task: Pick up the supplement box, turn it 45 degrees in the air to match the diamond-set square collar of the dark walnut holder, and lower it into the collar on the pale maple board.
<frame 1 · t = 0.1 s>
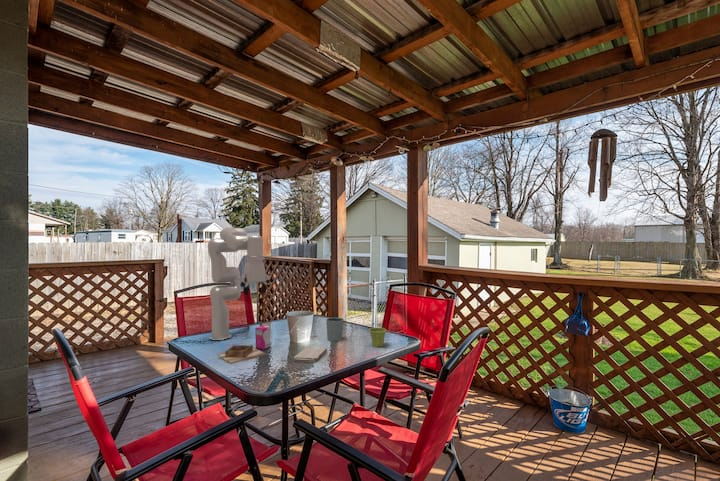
hand: (255, 293, 171), 31 cm above the table, tool pointing down, fingers open, 9 cm apart
supplement box: (263, 348, 183), on the table
washcloth: (310, 358, 168), on the table
grey green embossed cup: (335, 339, 199), on the table
plant pot: (377, 345, 186), on the table
collar holder: (239, 356, 170), on the table
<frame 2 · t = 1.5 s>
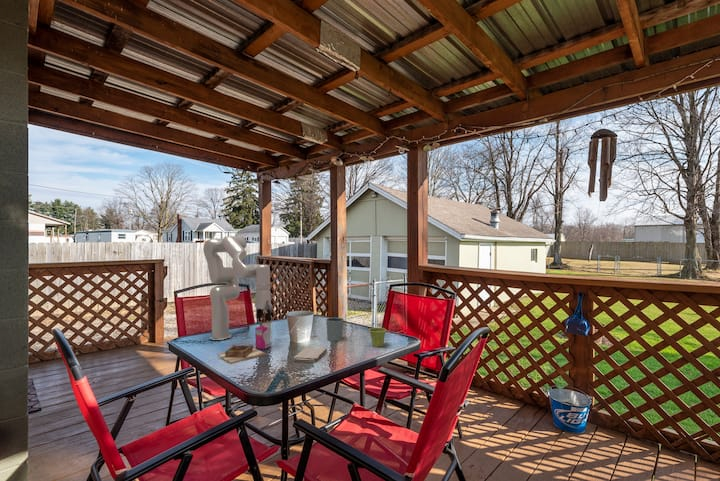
hand: (263, 319, 183), 16 cm above the table, tool pointing down, fingers open, 9 cm apart
nothing on the table moved.
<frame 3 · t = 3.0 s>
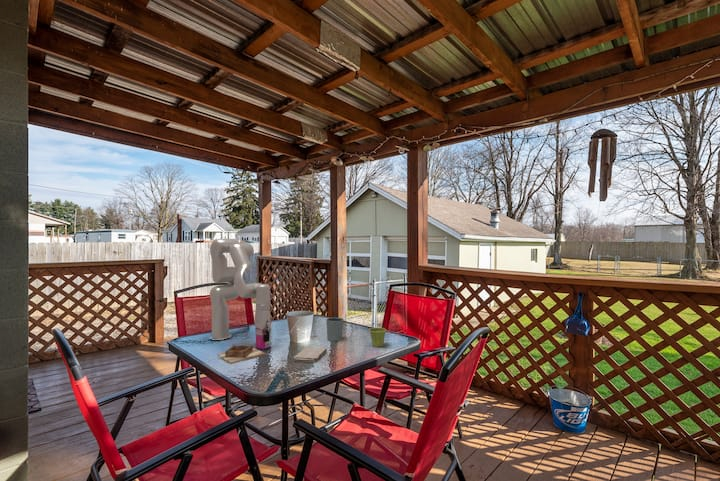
hand: (263, 339, 183), 4 cm above the table, tool pointing down, fingers closed on supplement box, 6 cm apart
supplement box: (263, 348, 183), on the table, touching gripper
everything else where it was.
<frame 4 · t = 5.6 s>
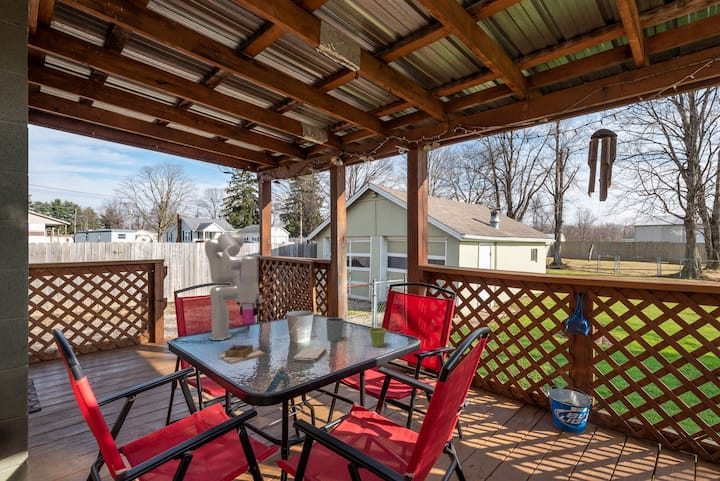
hand: (249, 314, 175), 20 cm above the table, tool pointing down, fingers closed on supplement box, 6 cm apart
supplement box: (249, 323, 175), point 15 cm above the table, touching gripper
everything else where it was.
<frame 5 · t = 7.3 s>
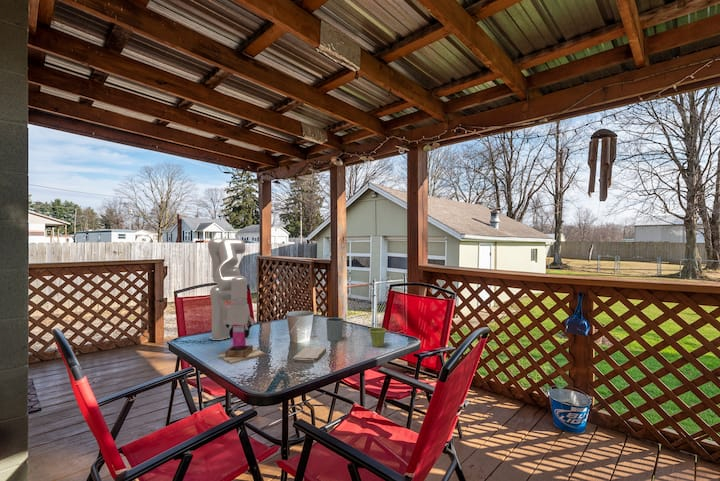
hand: (239, 337, 170), 10 cm above the table, tool pointing down, fingers closed on supplement box, 6 cm apart
supplement box: (239, 346, 170), point 5 cm above the table, touching gripper
everything else where it was.
when the fingers open (6 cm above the table, at t = 8.7 s): supplement box stays where it is, resting on collar holder.
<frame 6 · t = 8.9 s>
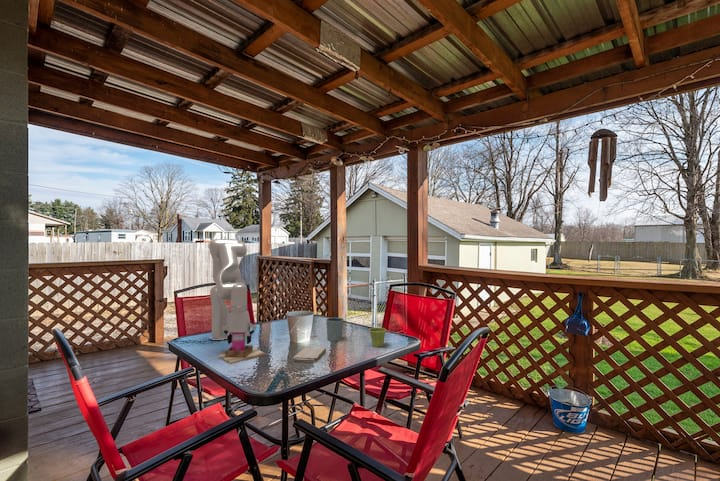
hand: (239, 343, 170), 6 cm above the table, tool pointing down, fingers open, 9 cm apart
supplement box: (239, 354, 170), point 1 cm above the table, touching collar holder
everything else where it was.
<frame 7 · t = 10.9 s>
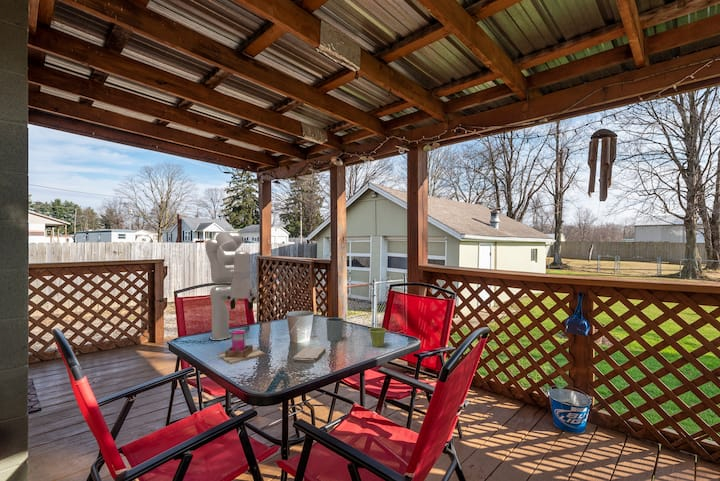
hand: (241, 309, 173), 23 cm above the table, tool pointing down, fingers open, 9 cm apart
nothing on the table moved.
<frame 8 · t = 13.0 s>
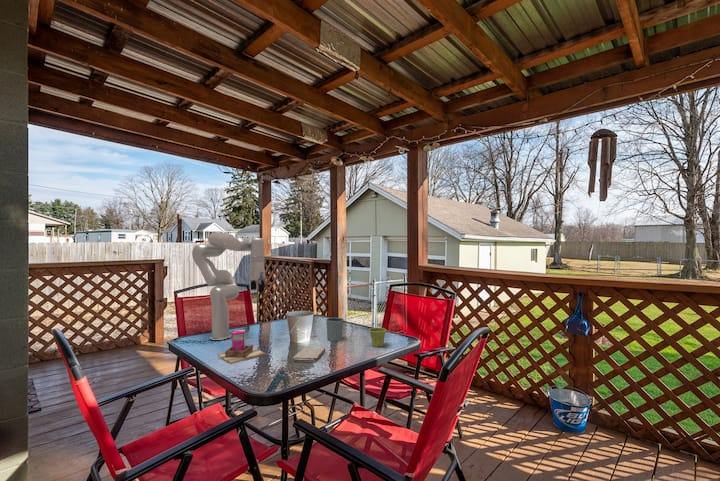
hand: (257, 290, 190), 30 cm above the table, tool pointing down, fingers open, 9 cm apart
nothing on the table moved.
at the end: supplement box 0.3 cm off-centre on the collar holder, point 0.8 cm above the collar holder's base; supplement box tilted 0°; the gripper is holding nothing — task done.
